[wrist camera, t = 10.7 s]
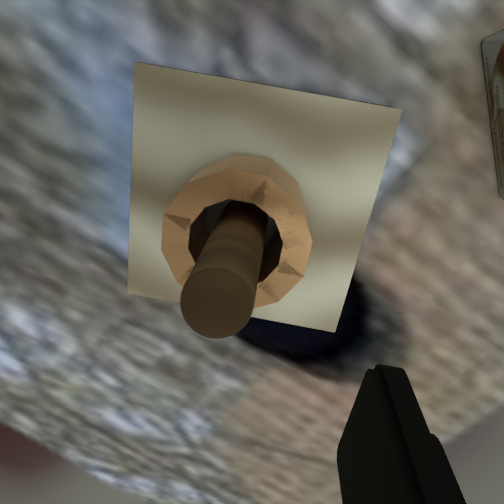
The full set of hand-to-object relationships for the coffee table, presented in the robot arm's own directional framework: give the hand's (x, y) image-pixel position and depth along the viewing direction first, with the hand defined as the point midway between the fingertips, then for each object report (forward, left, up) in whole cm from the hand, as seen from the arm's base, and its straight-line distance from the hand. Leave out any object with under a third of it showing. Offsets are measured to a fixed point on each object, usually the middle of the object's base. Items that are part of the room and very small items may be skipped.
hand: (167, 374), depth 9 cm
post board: (+1, 0, -17) cm, 17 cm away
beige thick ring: (+1, 0, -14) cm, 14 cm away
